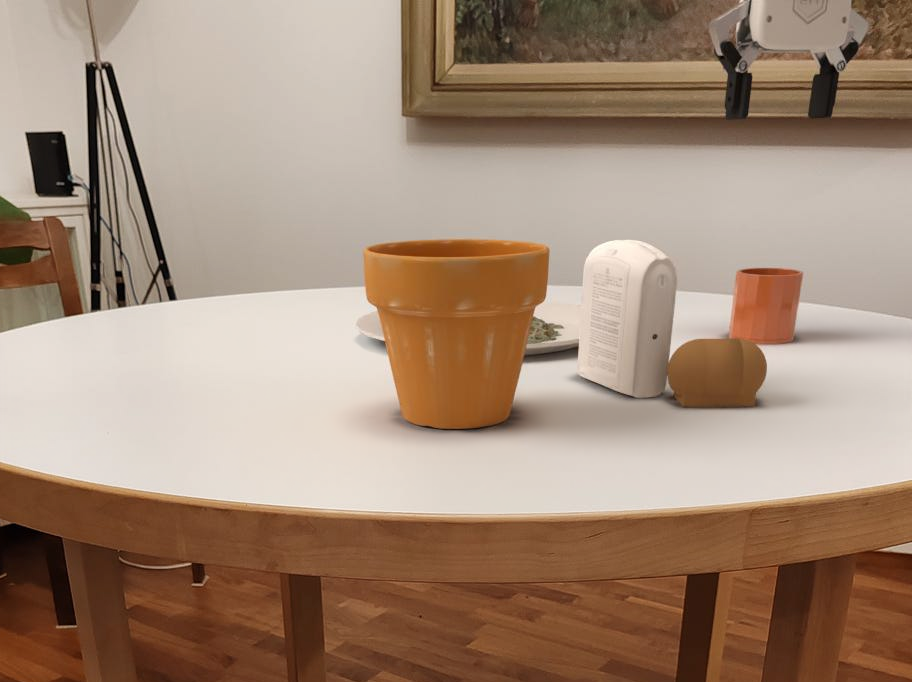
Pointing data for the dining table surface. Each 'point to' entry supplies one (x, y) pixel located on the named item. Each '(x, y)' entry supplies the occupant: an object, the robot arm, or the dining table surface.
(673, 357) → the bread loaf
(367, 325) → the plated food
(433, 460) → the dining table surface
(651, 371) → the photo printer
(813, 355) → the dining table surface
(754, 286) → the pot
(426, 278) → the flower pot
